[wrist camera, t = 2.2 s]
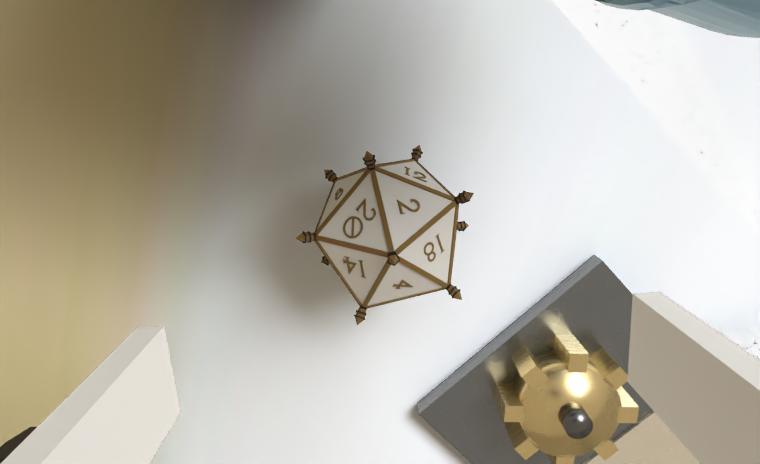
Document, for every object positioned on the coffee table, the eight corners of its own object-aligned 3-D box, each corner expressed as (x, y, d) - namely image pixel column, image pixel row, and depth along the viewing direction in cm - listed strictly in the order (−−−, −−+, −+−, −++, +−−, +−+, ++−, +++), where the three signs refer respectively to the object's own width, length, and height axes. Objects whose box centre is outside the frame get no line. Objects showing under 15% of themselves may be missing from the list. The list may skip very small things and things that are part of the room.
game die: (362, 302, 33) (359, 389, 23) (285, 190, 31) (246, 235, 21) (485, 228, 32) (535, 288, 22) (413, 108, 30) (432, 116, 20)
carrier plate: (417, 403, 35) (424, 452, 30) (594, 254, 32) (632, 282, 28) (615, 586, 39) (648, 654, 35) (784, 468, 37) (846, 524, 32)
